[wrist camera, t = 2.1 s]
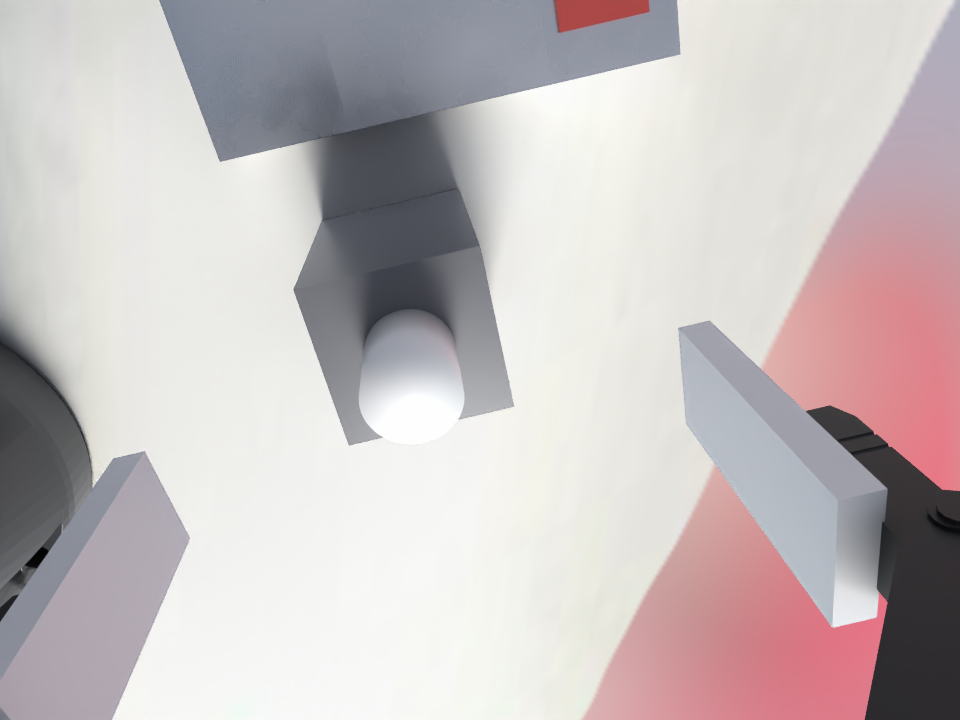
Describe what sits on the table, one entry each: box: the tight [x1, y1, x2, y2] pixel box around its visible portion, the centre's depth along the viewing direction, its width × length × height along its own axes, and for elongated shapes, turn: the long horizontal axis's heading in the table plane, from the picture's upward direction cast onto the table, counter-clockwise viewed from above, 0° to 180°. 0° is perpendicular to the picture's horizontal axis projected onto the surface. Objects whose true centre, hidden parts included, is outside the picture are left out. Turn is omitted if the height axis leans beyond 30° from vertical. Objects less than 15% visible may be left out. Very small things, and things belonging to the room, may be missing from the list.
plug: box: [294, 189, 514, 445], centre depth 23 cm, size 6×6×11 cm
